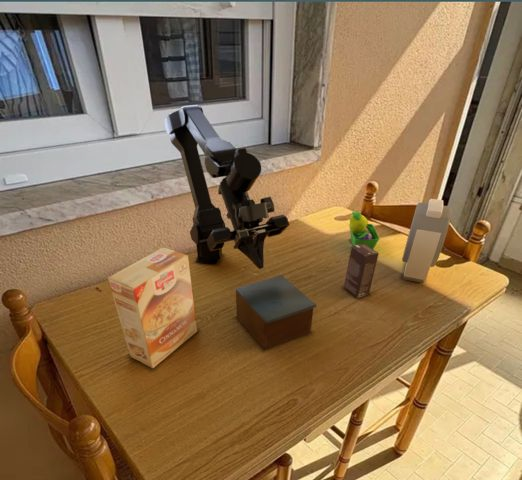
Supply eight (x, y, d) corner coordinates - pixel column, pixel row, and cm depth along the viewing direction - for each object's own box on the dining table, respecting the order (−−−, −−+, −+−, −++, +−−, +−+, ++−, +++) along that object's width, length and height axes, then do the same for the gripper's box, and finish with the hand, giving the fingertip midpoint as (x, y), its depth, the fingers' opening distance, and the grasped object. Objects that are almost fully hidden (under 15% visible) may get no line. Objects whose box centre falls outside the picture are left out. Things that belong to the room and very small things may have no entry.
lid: (315, 307, 83) (316, 304, 82) (266, 323, 78) (266, 321, 77) (281, 277, 92) (281, 274, 91) (235, 290, 87) (235, 288, 87)
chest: (310, 332, 88) (313, 305, 83) (264, 349, 84) (264, 321, 78) (280, 304, 97) (281, 277, 92) (236, 318, 92) (235, 290, 87)
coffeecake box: (153, 369, 79) (133, 288, 66) (128, 356, 81) (105, 277, 69) (199, 331, 88) (189, 254, 75) (175, 321, 91) (162, 245, 78)
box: (370, 294, 101) (379, 252, 93) (356, 298, 99) (365, 256, 91) (356, 283, 105) (364, 242, 97) (342, 287, 103) (350, 246, 95)
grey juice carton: (427, 290, 102) (453, 217, 89) (395, 284, 104) (415, 211, 91) (431, 261, 115) (454, 192, 101) (402, 255, 117) (421, 188, 104)
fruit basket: (376, 254, 117) (385, 219, 110) (348, 254, 117) (354, 218, 110) (369, 238, 126) (376, 204, 119) (342, 238, 126) (348, 204, 119)
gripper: (207, 191, 75) (234, 266, 75) (287, 177, 82) (312, 246, 82) (196, 216, 85) (220, 282, 85) (268, 202, 92) (290, 263, 92)
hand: (261, 268), depth 86 cm, fingers closed
